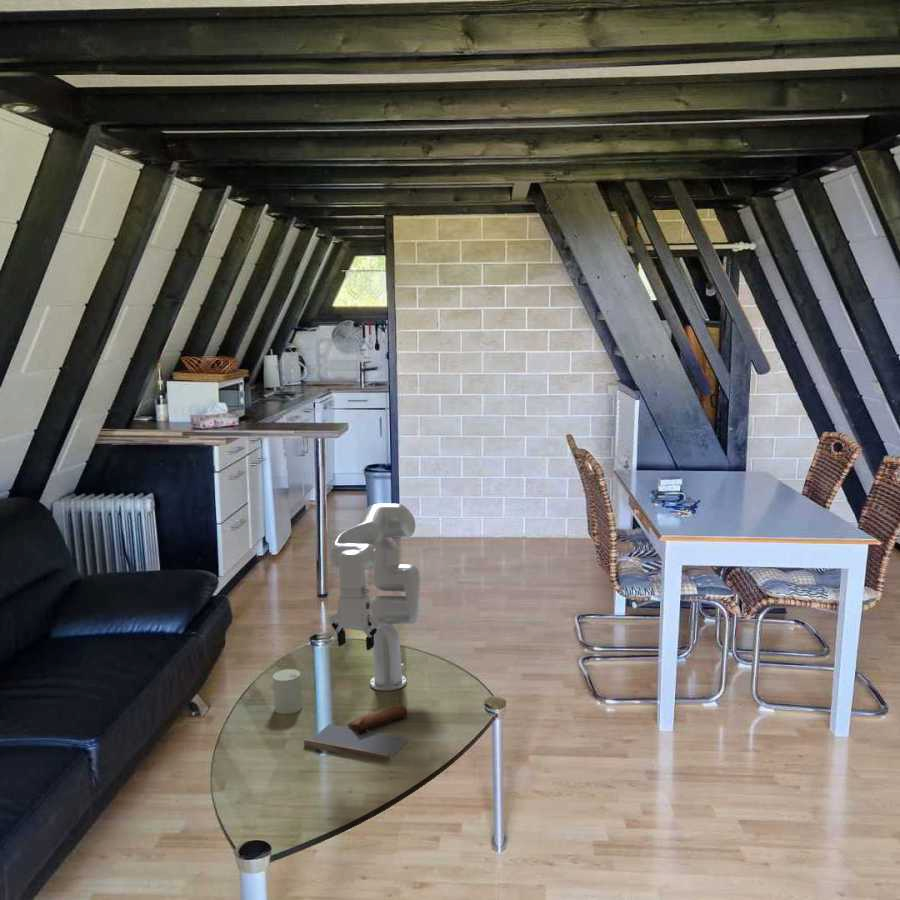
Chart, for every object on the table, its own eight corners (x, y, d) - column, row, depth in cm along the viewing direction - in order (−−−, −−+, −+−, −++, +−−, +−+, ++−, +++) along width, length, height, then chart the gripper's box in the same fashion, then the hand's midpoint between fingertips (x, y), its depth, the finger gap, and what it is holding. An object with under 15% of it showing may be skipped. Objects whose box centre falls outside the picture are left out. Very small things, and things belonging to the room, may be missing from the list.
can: (294, 715, 267) (291, 680, 265) (269, 712, 270) (266, 677, 268) (308, 703, 275) (305, 669, 274) (283, 700, 278) (281, 666, 277)
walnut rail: (306, 744, 248) (306, 738, 248) (389, 760, 237) (389, 753, 237) (304, 746, 247) (303, 740, 246) (387, 762, 236) (387, 755, 236)
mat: (329, 724, 260) (329, 724, 260) (409, 739, 249) (409, 738, 249) (306, 744, 248) (306, 743, 248) (389, 760, 237) (389, 759, 237)
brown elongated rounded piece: (392, 707, 269) (398, 694, 265) (404, 724, 264) (409, 710, 261) (345, 725, 257) (350, 711, 254) (356, 743, 253) (361, 729, 250)
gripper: (384, 590, 245) (387, 645, 248) (334, 585, 252) (337, 638, 255) (372, 598, 238) (375, 654, 241) (321, 592, 245) (324, 647, 248)
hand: (356, 646), depth 248 cm, fingers open, 9 cm apart
